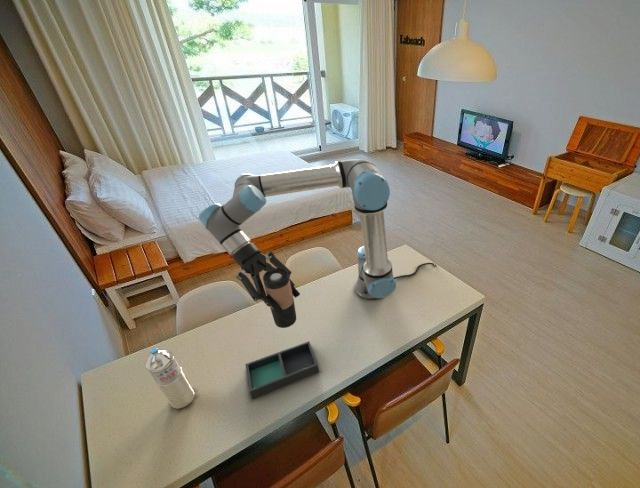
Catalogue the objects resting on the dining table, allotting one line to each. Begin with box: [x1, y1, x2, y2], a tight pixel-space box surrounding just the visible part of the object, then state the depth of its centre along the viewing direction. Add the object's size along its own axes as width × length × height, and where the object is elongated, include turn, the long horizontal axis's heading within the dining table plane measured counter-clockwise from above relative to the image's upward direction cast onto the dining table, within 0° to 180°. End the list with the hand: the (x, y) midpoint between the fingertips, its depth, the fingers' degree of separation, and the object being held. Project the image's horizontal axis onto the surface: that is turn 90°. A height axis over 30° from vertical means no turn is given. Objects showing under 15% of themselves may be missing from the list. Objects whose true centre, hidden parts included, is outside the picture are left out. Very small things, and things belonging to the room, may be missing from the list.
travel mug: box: [262, 267, 297, 329], centre depth 104 cm, size 8×8×20 cm
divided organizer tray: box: [245, 340, 320, 400], centre depth 113 cm, size 22×12×4 cm, turn 118°
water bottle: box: [144, 347, 196, 410], centre depth 97 cm, size 7×7×25 cm
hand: (289, 303), depth 103 cm, fingers closed on travel mug, 7 cm apart
